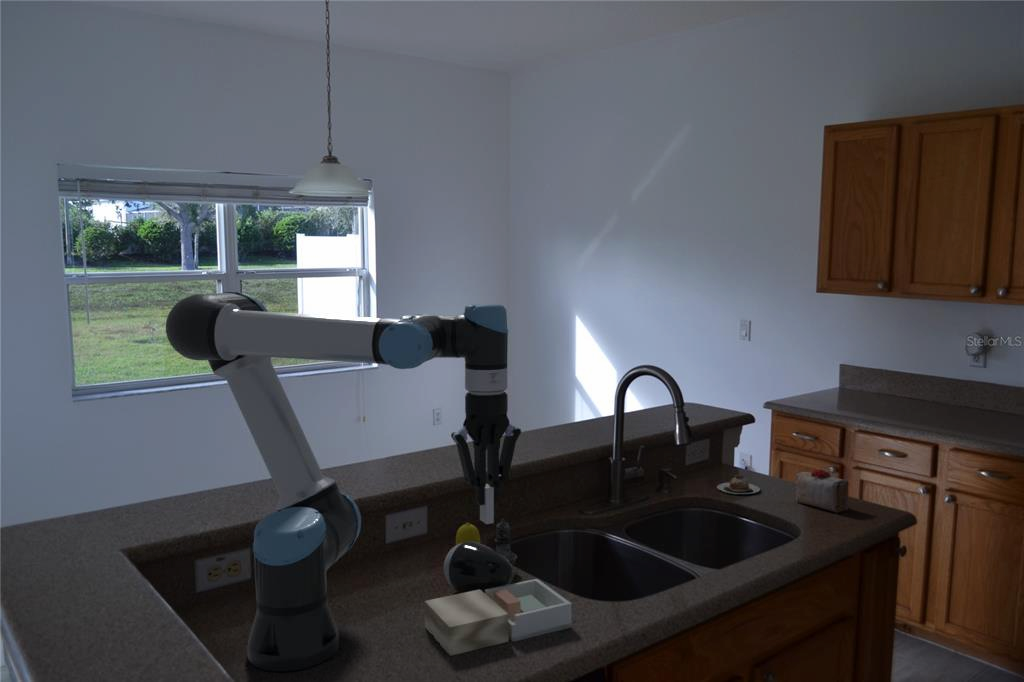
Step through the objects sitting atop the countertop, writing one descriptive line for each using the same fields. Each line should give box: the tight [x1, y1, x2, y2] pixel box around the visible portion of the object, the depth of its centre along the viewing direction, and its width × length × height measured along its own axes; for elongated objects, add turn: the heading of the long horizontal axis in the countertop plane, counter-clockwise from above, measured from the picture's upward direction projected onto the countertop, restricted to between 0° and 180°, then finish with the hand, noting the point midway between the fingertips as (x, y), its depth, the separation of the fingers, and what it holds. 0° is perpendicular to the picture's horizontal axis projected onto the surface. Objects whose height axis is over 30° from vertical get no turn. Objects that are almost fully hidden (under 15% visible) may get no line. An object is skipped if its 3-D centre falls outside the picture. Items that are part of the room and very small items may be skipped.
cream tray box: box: [424, 589, 510, 656], centre depth 141 cm, size 11×12×5 cm
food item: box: [794, 469, 850, 514], centre depth 214 cm, size 14×8×10 cm, turn 35°
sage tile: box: [517, 595, 546, 613], centre depth 146 cm, size 4×6×2 cm
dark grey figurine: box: [494, 517, 518, 576], centre depth 169 cm, size 6×6×12 cm
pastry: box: [716, 474, 761, 496], centre depth 230 cm, size 12×12×5 cm
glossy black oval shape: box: [443, 541, 515, 594], centre depth 157 cm, size 10×10×15 cm
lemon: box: [455, 522, 481, 546], centre depth 178 cm, size 6×6×8 cm
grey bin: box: [485, 578, 573, 643], centre depth 146 cm, size 12×13×4 cm
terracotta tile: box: [494, 589, 521, 622], centre depth 145 cm, size 4×6×2 cm
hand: (486, 521), depth 142 cm, fingers closed
